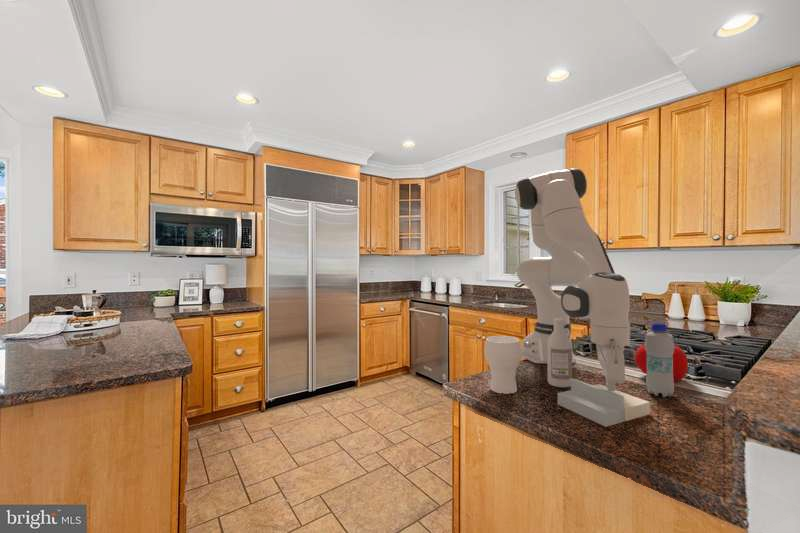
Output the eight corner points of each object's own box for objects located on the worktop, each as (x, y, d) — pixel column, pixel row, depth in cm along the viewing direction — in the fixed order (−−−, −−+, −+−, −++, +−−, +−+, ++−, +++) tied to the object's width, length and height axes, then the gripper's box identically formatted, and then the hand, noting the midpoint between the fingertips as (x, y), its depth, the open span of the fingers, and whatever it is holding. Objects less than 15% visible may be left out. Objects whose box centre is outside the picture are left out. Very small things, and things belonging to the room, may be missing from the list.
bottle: (680, 399, 95) (679, 325, 94) (652, 398, 96) (651, 324, 96) (667, 390, 101) (666, 320, 101) (640, 389, 103) (639, 320, 102)
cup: (477, 389, 107) (476, 339, 106) (499, 380, 113) (498, 333, 113) (508, 399, 98) (507, 345, 98) (529, 389, 105) (528, 339, 105)
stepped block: (557, 404, 94) (557, 381, 94) (574, 400, 96) (574, 378, 96) (605, 426, 81) (605, 400, 81) (623, 421, 83) (623, 396, 83)
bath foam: (577, 387, 106) (576, 320, 105) (555, 388, 105) (553, 321, 105) (564, 379, 113) (563, 316, 112) (543, 380, 112) (542, 317, 111)
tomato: (669, 388, 103) (669, 349, 103) (627, 373, 116) (626, 339, 116) (700, 382, 107) (699, 345, 106) (655, 369, 120) (655, 335, 120)
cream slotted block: (575, 400, 96) (575, 388, 96) (598, 394, 100) (598, 383, 100) (624, 421, 83) (624, 408, 83) (650, 414, 87) (650, 401, 87)
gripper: (632, 345, 81) (633, 406, 81) (617, 329, 99) (618, 378, 99) (600, 343, 83) (601, 402, 83) (592, 328, 102) (592, 376, 102)
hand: (610, 389), depth 91 cm, fingers closed
